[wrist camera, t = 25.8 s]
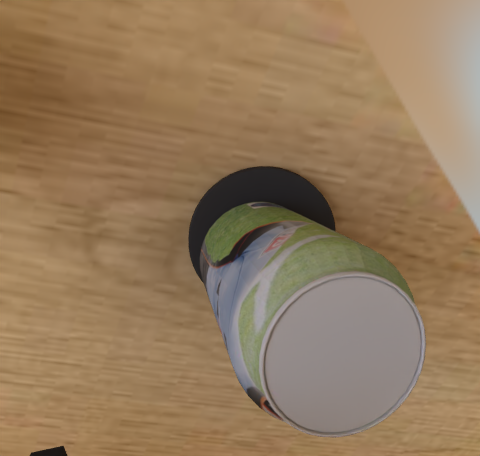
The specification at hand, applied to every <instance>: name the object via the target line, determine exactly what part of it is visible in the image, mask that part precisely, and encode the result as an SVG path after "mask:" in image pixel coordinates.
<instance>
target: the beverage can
mask: <svg viewBox="0 0 480 456" xmlns="http://www.w3.org/2000/svg"><path fill="white" fill-rule="evenodd" d="M200 271H201V276H202V279H203V282H204V285H205V288H206V291H207V294H208V297H209V299H210V302H211V305H212V308H213V311H214V314H215V317H216V319H217V322H218V325H219V328H220V331H221V334H222V337H223V340H224V342H225V345H226V348H227V351H228V354H229V357H230V360H231V363H232V365H233V368H234V371H235V373H236V376H237V378H238V380H239V382H240V384H241V386H242V387H243V389H244V390H245V392H246V393H247V395H248V396H249V397H250V398H251V399H252V400H253V401H254V402H255V403H256V404H257V405H258V406H259V407H260V408H261V409H263V410H264V411H266V412H267V413H269V414H270V415H272V416H273V417H275V418H277V419H279V420H282V421H284V422H286V423H288V424H289V425H291V426H292V427H294V428H295V429H297V430H300V431H302V432H305V433H307V434H311V435H315V436H320V437H342V436H349V435H353V434H356V433H359V432H363V431H365V430H367V429H369V428H371V427H373V426H375V425H377V424H379V423H380V422H382V421H383V420H385V419H386V418H388V417H389V416H390V415H391V414H392V413H393V412H394V411H395V410H397V409H398V408H399V407H400V405H401V404H402V403H403V402H404V401H405V400H406V398H407V397H408V396H409V394H410V393H411V391H412V389H413V388H414V386H415V385H416V382H417V380H418V378H419V375H420V373H421V370H422V366H423V363H424V359H425V350H426V337H425V329H424V325H423V321H422V317H421V315H420V313H419V311H418V309H417V307H416V305H415V303H414V299H413V295H412V293H411V291H410V289H409V287H408V285H407V283H406V281H405V279H404V278H403V277H402V275H401V274H400V273H399V271H398V270H397V269H396V267H395V266H394V265H393V264H391V263H390V262H389V261H388V260H387V259H386V258H385V257H384V256H382V255H381V254H379V253H377V252H375V251H374V250H372V249H370V248H369V247H367V246H364V245H362V244H360V243H358V242H356V241H354V240H352V239H350V238H348V237H346V236H343V235H341V234H339V233H337V232H335V231H333V230H331V229H329V228H327V227H325V226H322V225H320V224H318V223H316V222H314V221H312V220H310V219H308V218H306V217H304V216H302V215H299V214H297V213H295V212H293V211H291V210H289V209H287V208H285V207H282V206H280V205H277V204H274V203H268V202H251V203H246V204H242V205H240V206H237V207H235V208H233V209H231V210H229V211H228V212H226V213H224V214H223V215H222V216H221V217H220V218H219V219H217V220H216V222H215V223H214V224H213V225H212V227H211V228H210V229H209V231H208V233H207V235H206V236H205V239H204V241H203V244H202V247H201V253H200Z"/></svg>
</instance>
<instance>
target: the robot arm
mask: <svg viewBox="0 0 480 456" xmlns="http://www.w3.org/2000/svg"><path fill="white" fill-rule="evenodd" d="M30 456H67V454H66V451H65V448H64V446H60V447H56V448H51V449H46V450H42V451H37V452H33V453H31V454H30Z"/></svg>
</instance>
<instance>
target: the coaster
mask: <svg viewBox="0 0 480 456" xmlns="http://www.w3.org/2000/svg"><path fill="white" fill-rule="evenodd" d="M251 202H268V203H274V204H277V205H280V206H282V207H285V208H287V209H289V210H291V211H293V212H295V213H297V214H299V215H302V216H304V217H306V218H308V219H310V220H312V221H314V222H316V223H318V224H320V225H322V226H325V227H327V228H329V229H331V230H333V231H335V223H334V218H333V215H332V212H331V209H330V207H329V205H328V203H327V201H326V200H325V198H324V197H323V195H322V194H321V193H320V192H319V191H318V190H317V189H316V187H314V186H313V185H312V184H311V183H310V182H308V181H307V180H306V179H304V178H303V177H301V176H300V175H298V174H296V173H293V172H291V171H289V170H285V169H282V168H276V167H252V168H247V169H243V170H240V171H237V172H235V173H232V174H230V175H228V176H227V177H225V178H223V179H221V180H220V181H219V182H217V183H216V184H215V185H214V186H213V187H212V188H211V189H209V190H208V191H207V193H206V194H205V195H204V196H203V198H202V199H201V200H200V202H199V204H198V205H197V207H196V209H195V212H194V214H193V216H192V220H191V224H190V229H189V252H190V257H191V261H192V264H193V266H194V269H195V271H196V273H197V274H198V276H199V277H200V279H201V281H202V282H203V279H202V276H201V271H200V253H201V247H202V244H203V241H204V239H205V236H206V235H207V233H208V231H209V229H210V228H211V227H212V225H213V224H214V223H215V222H216V220H217V219H219V218H220V217H221V216H222V215H223V214H224V213H226V212H228V211H229V210H231V209H233V208H235V207H237V206H240V205H242V204H246V203H251ZM203 283H204V282H203Z"/></svg>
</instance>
